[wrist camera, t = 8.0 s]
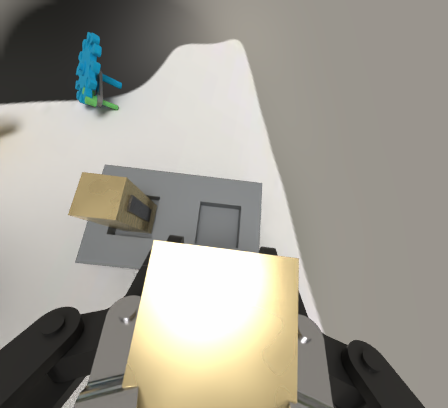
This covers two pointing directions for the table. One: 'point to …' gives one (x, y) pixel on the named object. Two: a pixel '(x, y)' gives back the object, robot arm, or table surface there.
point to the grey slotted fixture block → (179, 217)
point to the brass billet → (215, 330)
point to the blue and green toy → (92, 75)
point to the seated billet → (113, 203)
